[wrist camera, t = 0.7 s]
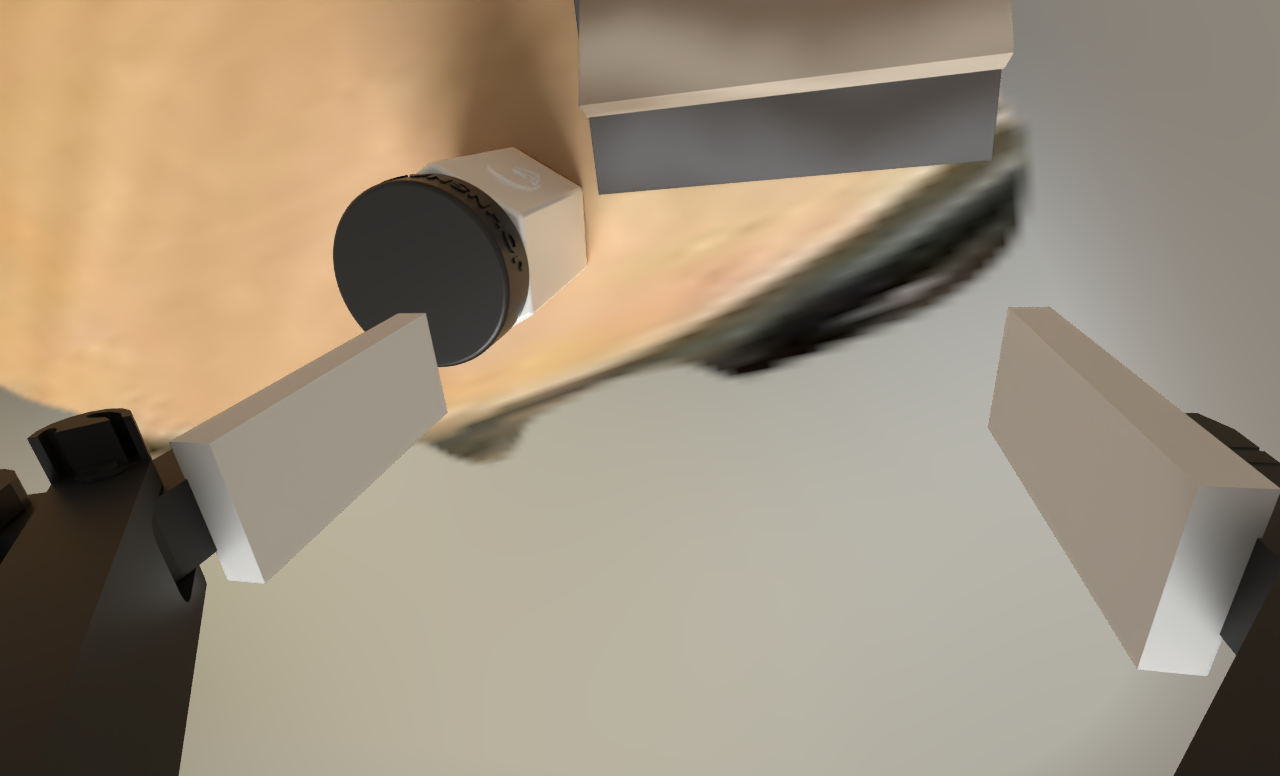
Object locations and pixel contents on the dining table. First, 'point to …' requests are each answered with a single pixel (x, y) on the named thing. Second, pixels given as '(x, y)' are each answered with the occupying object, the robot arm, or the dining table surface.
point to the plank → (775, 47)
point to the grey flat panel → (799, 134)
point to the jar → (461, 248)
